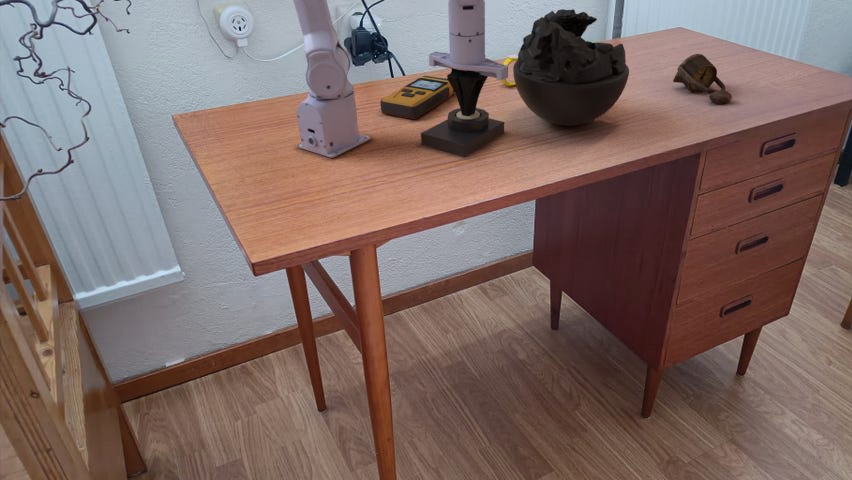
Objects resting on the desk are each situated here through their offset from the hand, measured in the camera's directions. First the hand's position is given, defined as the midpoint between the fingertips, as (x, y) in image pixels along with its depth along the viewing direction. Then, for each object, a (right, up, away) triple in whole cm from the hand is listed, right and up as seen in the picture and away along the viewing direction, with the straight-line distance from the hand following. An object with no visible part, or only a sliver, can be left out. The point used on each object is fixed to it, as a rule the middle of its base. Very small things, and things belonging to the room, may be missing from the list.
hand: (468, 114), depth 112 cm
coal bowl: (+18, 0, +8) cm, 19 cm away
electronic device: (-10, +5, +16) cm, 19 cm away
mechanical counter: (+46, +8, +20) cm, 51 cm away
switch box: (-1, -4, +1) cm, 4 cm away
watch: (+9, +12, +25) cm, 29 cm away
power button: (0, -1, +1) cm, 2 cm away
